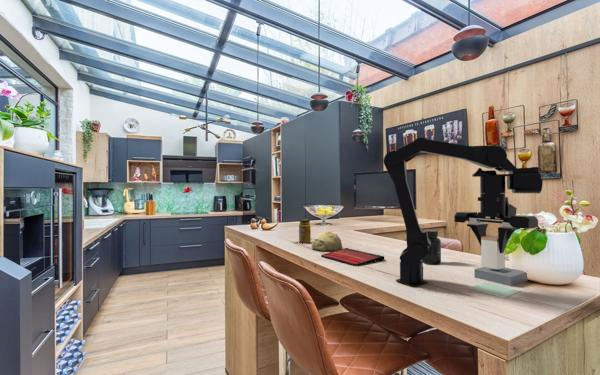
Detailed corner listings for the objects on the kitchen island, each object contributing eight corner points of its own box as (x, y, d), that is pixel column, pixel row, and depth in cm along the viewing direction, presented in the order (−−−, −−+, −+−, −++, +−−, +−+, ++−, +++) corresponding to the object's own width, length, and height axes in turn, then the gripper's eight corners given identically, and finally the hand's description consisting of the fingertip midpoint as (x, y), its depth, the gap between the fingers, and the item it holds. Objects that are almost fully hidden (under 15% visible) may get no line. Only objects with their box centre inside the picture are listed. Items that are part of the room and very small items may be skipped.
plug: (497, 269, 79) (496, 238, 79) (481, 266, 83) (481, 236, 83) (504, 267, 81) (504, 237, 81) (489, 264, 85) (489, 235, 85)
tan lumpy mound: (343, 247, 146) (343, 230, 146) (341, 252, 134) (341, 234, 134) (314, 246, 149) (314, 230, 149) (309, 251, 137) (309, 233, 137)
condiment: (314, 242, 159) (313, 219, 159) (302, 244, 153) (302, 220, 153) (304, 240, 164) (304, 218, 164) (292, 243, 158) (292, 219, 159)
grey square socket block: (510, 287, 85) (510, 277, 85) (474, 279, 93) (474, 269, 93) (527, 281, 90) (527, 271, 90) (491, 274, 99) (491, 264, 99)
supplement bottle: (443, 265, 110) (442, 232, 110) (423, 264, 111) (422, 231, 111) (438, 260, 117) (438, 229, 117) (419, 260, 118) (419, 229, 118)
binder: (346, 247, 136) (384, 255, 119) (346, 252, 136) (384, 261, 119) (318, 253, 126) (355, 263, 109) (318, 259, 127) (355, 270, 109)
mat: (503, 300, 76) (503, 297, 76) (467, 289, 84) (467, 287, 84) (520, 293, 81) (520, 290, 81) (485, 284, 88) (485, 282, 88)
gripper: (547, 193, 78) (548, 254, 78) (474, 192, 94) (474, 243, 94) (527, 194, 73) (527, 259, 73) (452, 193, 89) (453, 247, 88)
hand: (492, 251), depth 82 cm, fingers closed on plug, 4 cm apart
